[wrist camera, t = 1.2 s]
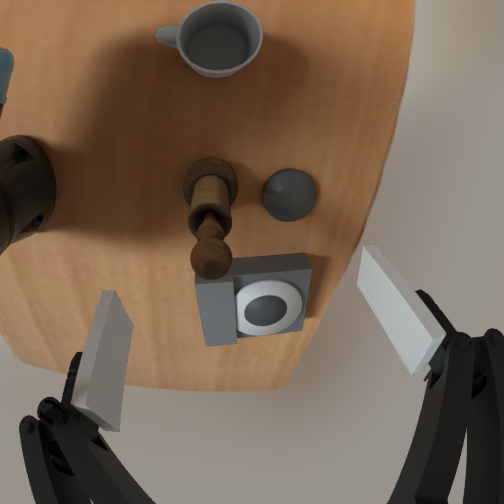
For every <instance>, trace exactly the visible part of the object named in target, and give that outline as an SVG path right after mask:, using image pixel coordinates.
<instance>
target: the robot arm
mask: <svg viewBox="0 0 504 504" xmlns="http://www.w3.org/2000/svg"><path fill="white" fill-rule="evenodd" d="M13 67H14V58H13V55H12V53H11V52H10V51H9V50H8V49H5V48H2V47H0V118H1V114H2V110H3V106H4V104H5V103H6V100H7V98H6V94H7V89H8V85H9V81H10V78H11V74H12V71H13ZM55 199H56V183H55V177H54V173H53V169H52V167H51V164H50V162H49V160H48V158H47V156H46V154H45V153H44V151H43V150H42V149H41V148H40V146H39V145H38V144H36V143H35V142H34V141H33V140H31V139H29V138H27V137H24V136H11V137H8V138H6V139H3V140H1V141H0V256H1V254H2V253H3V252H4V251H5V249H6V248H7V247H8V246H9V245H10V244H13V243H15V242H17V241H20V240H22V239H24V238H27V237H29V236H31V235H33V234H34V233H36V232H37V231H38V230H39V229H40V228H41V227H42V226H43V225H44V224H45V223H46V222H47V220H48V219H49V218H50V216H51V214H52V211H53V208H54V205H55ZM357 286H358V288H359V289H360V291H361V293H362V294H363V296H364V297H365V299H366V300H367V302H368V304H369V305H370V307H371V308H372V310H373V312H374V313H375V315H376V317H377V318H378V320H379V322H380V323H381V325H382V326H383V328H384V330H385V332H386V333H387V335H388V336H389V338H390V340H391V342H392V343H393V345H394V347H395V349H396V350H397V352H398V354H399V356H400V357H401V359H402V361H403V363H404V364H405V366H406V368H407V370H408V372H409V374H410V376H413V375H415V374H418V373H420V372H422V371H424V370H425V368H426V367H427V365H428V364H429V365H430V367H431V370H430V371H429V372H428V374H427V375H426V377H425V379H424V381H426V380H427V379H428V382H427V387H426V392H425V396H424V401H423V405H422V409H421V413H420V416H419V420H418V424H417V427H416V430H415V434H414V437H413V441H412V444H411V447H410V449H409V452H408V455H407V458H406V461H405V464H404V466H403V469H402V471H401V474H400V476H399V479H398V481H397V483H396V486H395V488H394V490H393V493H392V495H391V497H390V499H389V501H388V503H387V504H448V500H447V499H448V496H449V493H450V490H451V487H452V484H453V481H454V478H455V474H456V471H457V467H458V464H459V460H460V456H461V451H462V448H463V443H464V438H465V434H466V428H467V463H466V464H467V465H466V478H465V489H464V497H463V504H504V336H503V334H502V333H501V332H500V331H499V330H497V329H493V328H491V329H488V330H487V331H486V333H485V334H484V336H482V337H473V338H471V337H470V336H469V335H468V334H466V333H463V332H457V331H456V330H455V328H454V327H453V326H452V324H451V323H450V321H449V320H448V319H447V317H446V316H445V315H444V313H443V312H442V311H441V310H440V309H439V307H438V306H437V304H435V302H434V301H433V299H432V298H431V297H430V296H429V295H428V294H427V293H425V292H424V291H422V290H421V289H420V290H417V291H414V290H413V288H412V287H411V286H410V285H409V283H408V282H407V281H406V280H405V279H404V277H403V276H402V275H401V274H400V272H399V271H398V270H397V269H396V268H395V266H394V265H393V264H392V263H391V262H390V260H389V259H388V258H387V257H386V256H385V255H384V253H383V252H382V251H381V250H380V249H379V248H378V247H377V246H376V244H371V245H365V246H363V248H362V256H361V263H360V269H359V275H358V281H357ZM133 326H134V325H133V323H132V321H131V319H130V318H129V316H128V314H127V312H126V310H125V309H124V307H123V305H122V303H121V301H120V299H119V297H118V295H117V293H116V291H115V290H109V291H103V292H102V294H101V297H100V300H99V303H98V306H97V309H96V312H95V315H94V318H93V321H92V324H91V327H90V330H89V333H88V337H87V340H86V343H85V347H84V350H83V352H77V353H76V354H75V356H74V358H73V359H72V361H71V364H70V368H69V372H68V375H67V379H66V384H65V387H64V392H63V396H62V400H61V403H60V402H59V401H58V400H57V399H55V398H53V397H47V398H45V399H43V400H42V401H41V402H40V404H39V406H38V410H37V415H38V418H40V420H37V419H36V418H35V417H33V416H30V415H28V416H25V417H24V418H23V419H22V420H21V422H20V426H19V432H20V439H21V446H22V451H23V457H24V461H25V466H26V471H27V474H28V479H29V482H30V486H31V490H32V493H33V496H34V500H35V503H36V504H92V503H91V501H92V502H93V503H94V504H156V503H155V502H154V501H152V499H151V498H150V497H149V496H148V495H147V494H146V493H145V491H143V489H142V488H141V487H140V486H139V485H138V484H137V482H136V481H135V480H134V479H133V477H132V476H131V475H130V474H129V472H128V471H127V470H126V469H125V467H124V466H123V465H122V464H121V462H120V461H119V460H118V458H117V457H116V455H115V454H114V453H113V451H112V450H111V448H110V447H109V446H108V444H107V443H106V441H105V440H104V438H103V437H102V435H101V434H100V433H99V432H98V429H99V426H100V427H101V428H102V429H103V430H105V431H115V432H116V431H117V432H119V431H120V419H121V408H122V399H123V390H124V382H125V375H126V368H127V361H128V355H129V349H130V343H131V337H132V332H133ZM90 499H91V501H90Z"/></svg>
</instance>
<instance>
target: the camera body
mask: <svg viewBox="0 0 504 504" xmlns="http://www.w3.org/2000/svg"><path fill="white" fill-rule="evenodd" d="M311 274H312V267H311V265H310V263H309V261H308V259H307V257H306V255H305V253H297V254H284V255H272V256H259V257H246V258H234V259H232V265H231V267H230V269H229V271H228V272H227V273H226V274H225V275H224V276H223V277H221V278H219V279H215V280H207V279H204V278H202V277H200V276H199V275H197V274H196V273H195V289H196V295H197V301H198V307H199V312H200V318H201V323H202V328H203V333H204V338H205V343H206V346H218V345H230V344H237V338H245V337H254V336H263V335H272V334H280V333H288V332H295V331H302V327H303V322H304V316H305V311H306V305H307V299H308V293H309V287H310V281H311Z"/></svg>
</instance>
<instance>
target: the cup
mask: <svg viewBox="0 0 504 504" xmlns="http://www.w3.org/2000/svg"><path fill="white" fill-rule="evenodd" d="M155 40H156V41H157V42H159V43H161V44H163V45H165V46H168V47H173V48H178V50H179V52H180V54H181V56H182V57H183V59H184V60H185V61H186V62H187V63H188V64H189V65H190V66H191V68H192V69H193V70H194V71H196V72H197V73H199V74H201V75H203V76H206V77H210V78H221V77H227V76H230V75H232V74H235V73H236V72H237V71H239V70H240V69H242V68H243V67H244V66H246V65H247V64H248V63H249V62H251V61H252V59H253V58H254V57H255V56H256V55H257V54H258V52H259V50H260V48H261V45H262V40H263V31H262V26H261V24H260V22H259V20H258V18H257V17H256V16H255V14H254V13H253V12H252V11H251V10H249V9H248V8H246V7H244V6H243V5H241V4H238V3H235V2H231V1H213V2H208V3H205V4H202V5H200V6H197V7H196V8H194V9H193V10H192V11H190V12H189V13H188V14H187V15H186V16H185V17H184V18H183V20H182V21H181V23H180V25H167V26H162V27H160V28H158V29H157V31H156V32H155Z"/></svg>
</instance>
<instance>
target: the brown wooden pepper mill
mask: <svg viewBox="0 0 504 504" xmlns="http://www.w3.org/2000/svg"><path fill="white" fill-rule="evenodd" d="M183 191H184V196H185V199H186V201H187V203H188V204H189V205H190V206H191V207H190V212H189V217H188V226H189V229H190V231H191V232H192V234H193V235H194V236H195V237H196V238H197V241H198V243H197V244H196V245H195V246H194V248H193V250H192V252H191V257H190V261H191V265H192V268H193V270H194V271H195V273H196V274H197V275H199V276H200V277H202V278H204V279H207V280H215V279H219V278H221V277H223V276H224V275H225V274H226V273H227V272H228V271H229V269H230V267H231V265H232V253H231V250H230V248H229V246H228V245H227V244H226V243H225V242H224V241H223V240H224V238H225V237H226V236H227V235H228V234H229V232H230V230H231V227H232V217H231V212H230V206H231V205H232V203H233V202H234V200H235V198H236V196H237V192H238V184H237V178H236V175H235V172H234V170H233V169H232V168H231V166H230V165H229V164H227V163H226V162H225V161H223V160H220V159H217V158H206V159H202V160H200V161H198V162H196V163H195V164H194V165H193V166H192V167H191V168H190V169H189V171H188V173H187V175H186V178H185V181H184V186H183Z"/></svg>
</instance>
